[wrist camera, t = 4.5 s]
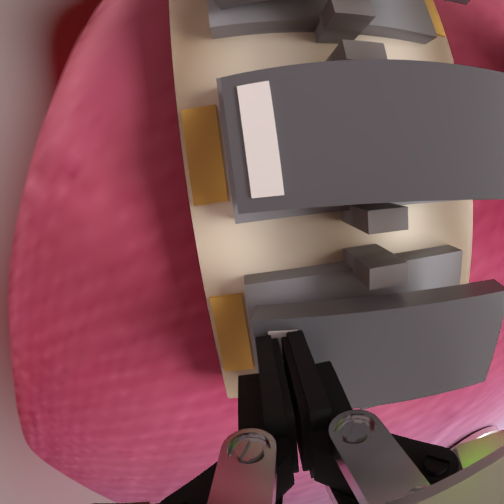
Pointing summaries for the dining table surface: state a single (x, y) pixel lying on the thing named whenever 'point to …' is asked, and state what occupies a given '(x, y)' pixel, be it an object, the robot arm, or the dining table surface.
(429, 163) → the rocker middle
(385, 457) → the robot arm
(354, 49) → the switch board
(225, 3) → the plate
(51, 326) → the dining table surface
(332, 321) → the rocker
